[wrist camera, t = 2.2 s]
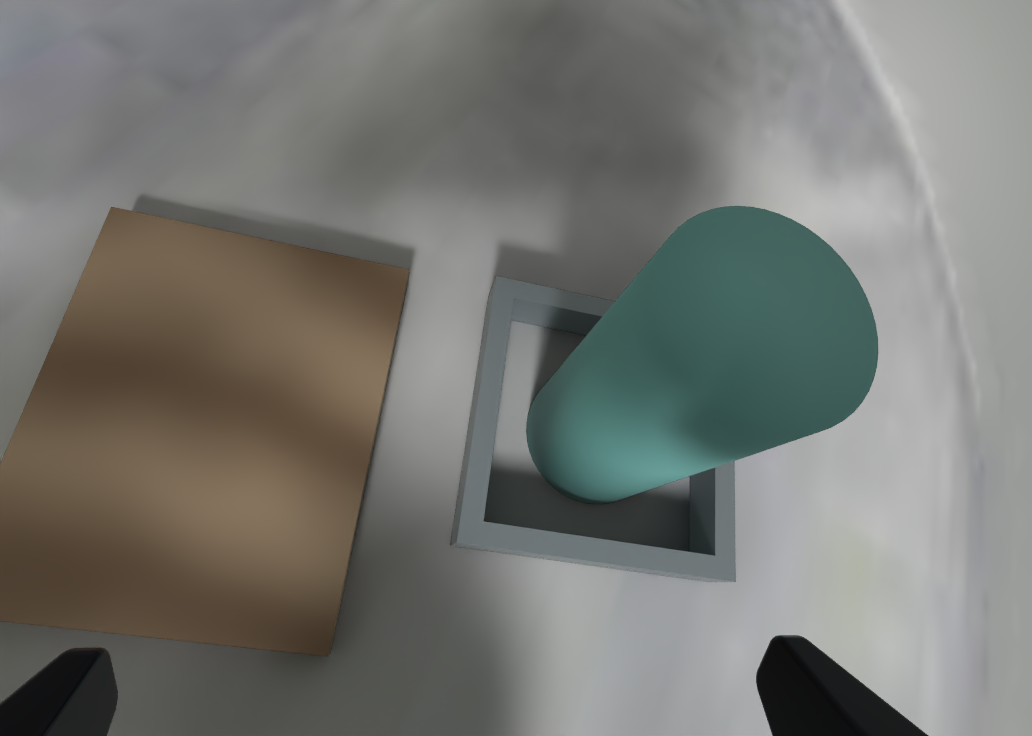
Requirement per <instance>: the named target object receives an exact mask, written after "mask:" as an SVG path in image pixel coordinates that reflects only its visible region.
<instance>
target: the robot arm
mask: <svg viewBox="0 0 1032 736" xmlns="http://www.w3.org/2000/svg"><path fill="white" fill-rule="evenodd" d="M756 683H757V689H758V692H759V695H760V698H761V702H762V705H763V708H764V711H765V714H766V717H767V720H768V723H769V726H770V729H771V732H772V735H773V736H928V735H927V734H925V733H924V732H923V731H922V730H920V729H919V728H918V727H917V726H915V725H914V724H913V723H912V722H910V721H909V720H908V719H907V718H905V717H904V716H903V715H902V714H900V713H899V712H898V711H897V710H895V709H894V708H893V707H891V706H890V705H889V704H888V703H886V702H885V701H884V700H883V699H881V698H880V697H879V696H878V695H876V694H875V693H874V692H873V691H871V690H870V689H869V688H868V687H866V686H865V685H864V684H863V683H861V682H860V681H859V680H858V679H856V678H855V677H854V676H852V675H851V674H850V673H849V672H847V671H846V670H845V669H844V668H842V667H841V666H840V665H839V664H837V663H836V662H835V661H834V660H832V659H831V658H830V657H829V656H827V655H826V654H825V653H824V652H822V651H821V650H820V649H818V648H817V647H816V646H815V645H813V644H812V643H811V642H810V641H808V640H807V639H805V638H804V637H802V636H798V635H780V636H775V637H774V638H773V639H772V640H771V641H770V643H769V646H768V648H767V650H766V652H765V654H764V657H763V659H762V661H761V663H760V666H759V668H758V670H757V675H756ZM117 699H118V691H117V685H116V681H115V676H114V672H113V667H112V663H111V658H110V655H109V652H108V651H107V650H106V649H104V648H73V649H69V650H67V651H65V652H63V653H62V654H60V655H59V656H58V657H57V658H55V659H54V660H53V661H52V662H50V663H49V664H48V665H47V666H46V667H44V668H43V669H42V670H41V671H40V672H38V673H37V674H36V675H35V676H33V677H32V678H31V679H30V680H29V681H27V682H26V683H25V684H24V685H22V686H21V687H20V688H19V689H18V690H16V691H15V692H14V693H13V694H11V695H10V696H9V697H8V698H7V699H5V700H4V701H3V702H2V703H0V736H107V733H108V730H109V728H110V725H111V722H112V719H113V716H114V713H115V710H116V705H117Z"/></svg>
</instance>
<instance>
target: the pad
mask: <svg viewBox="0 0 1032 736" xmlns="http://www.w3.org/2000/svg"><path fill="white" fill-rule="evenodd" d="M408 276H409V270H408V269H404V268H399V267H394V266H389V265H385V264H380V263H375V262H371V261H366V260H361V259H356V258H352V257H347V256H342V255H337V254H333V253H328V252H323V251H318V250H314V249H309V248H304V247H299V246H295V245H290V244H285V243H280V242H276V241H271V240H266V239H262V238H257V237H252V236H247V235H243V234H238V233H233V232H228V231H224V230H219V229H214V228H209V227H205V226H200V225H195V224H190V223H186V222H181V221H176V220H171V219H167V218H162V217H157V216H153V215H148V214H143V213H138V212H134V211H129V210H124V209H119V208H115V207H111V209H110V211H109V213H108V216H107V218H106V220H105V222H104V225H103V227H102V229H101V232H100V234H99V236H98V239H97V241H96V243H95V246H94V248H93V250H92V253H91V255H90V257H89V260H88V262H87V264H86V266H85V269H84V271H83V273H82V276H81V278H80V280H79V283H78V285H77V287H76V290H75V292H74V294H73V297H72V299H71V301H70V304H69V306H68V308H67V310H66V313H65V315H64V317H63V320H62V322H61V324H60V327H59V329H58V331H57V334H56V336H55V338H54V341H53V343H52V345H51V348H50V350H49V352H48V354H47V357H46V359H45V361H44V364H43V366H42V368H41V371H40V373H39V375H38V378H37V380H36V382H35V385H34V387H33V389H32V392H31V394H30V396H29V398H28V401H27V403H26V405H25V408H24V410H23V412H22V415H21V417H20V419H19V422H18V424H17V426H16V429H15V431H14V433H13V436H12V438H11V440H10V442H9V445H8V447H7V449H6V452H5V454H4V456H3V459H2V461H1V463H0V621H3V622H12V623H21V624H30V625H40V626H49V627H58V628H67V629H77V630H86V631H95V632H105V633H114V634H123V635H132V636H142V637H151V638H160V639H169V640H179V641H188V642H197V643H207V644H216V645H225V646H234V647H244V648H253V649H262V650H272V651H281V652H290V653H299V654H309V655H318V656H327V657H328V656H329V654H330V653H331V648H332V644H333V639H334V634H335V629H336V624H337V620H338V615H339V610H340V605H341V601H342V596H343V591H344V586H345V581H346V577H347V572H348V567H349V562H350V558H351V553H352V548H353V543H354V538H355V534H356V529H357V524H358V519H359V514H360V510H361V505H362V500H363V495H364V491H365V486H366V481H367V476H368V471H369V467H370V462H371V457H372V452H373V447H374V443H375V438H376V433H377V428H378V424H379V419H380V414H381V409H382V404H383V400H384V395H385V390H386V385H387V380H388V376H389V371H390V366H391V361H392V357H393V352H394V347H395V342H396V337H397V333H398V328H399V323H400V318H401V314H402V309H403V304H404V299H405V294H406V290H407V285H408Z"/></svg>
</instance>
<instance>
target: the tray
mask: <svg viewBox="0 0 1032 736" xmlns="http://www.w3.org/2000/svg"><path fill="white" fill-rule="evenodd" d="M614 302H615V301H611V300H607V299H602V298H597V297H593V296H588V295H583V294H579V293H574V292H569V291H565V290H560V289H555V288H551V287H546V286H541V285H537V284H532V283H527V282H523V281H518V280H513V279H509V278H504V277H499V276H496V279H495V281H494V284H493V287H492V289H491V292H490V294H489V297H488V302H487V308H486V315H485V321H484V328H483V334H482V341H481V347H480V354H479V361H478V367H477V374H476V380H475V387H474V393H473V400H472V406H471V413H470V419H469V426H468V432H467V439H466V445H465V452H464V458H463V465H462V471H461V478H460V485H459V491H458V498H457V504H456V511H455V517H454V524H453V530H452V537H451V543H450V546H456V547H463V548H471V549H478V550H485V551H492V552H499V553H506V554H513V555H520V556H527V557H535V558H542V559H549V560H556V561H563V562H570V563H577V564H584V565H592V566H599V567H606V568H613V569H620V570H627V571H634V572H641V573H648V574H656V575H663V576H670V577H677V578H684V579H691V580H698V581H705V582H736V568H735V472H734V461H732V462H729V463H726V464H723V465H720V466H718V467H715V468H712V469H709V470H706V471H703V472H700V473H697V474H694V475H691V476H690V531H689V552H687V551H680V550H673V549H666V548H660V547H653V546H646V545H639V544H633V543H626V542H619V541H612V540H606V539H599V538H592V537H585V536H579V535H572V534H565V533H558V532H552V531H545V530H538V529H531V528H525V527H518V526H511V525H504V524H498V523H491V522H484V514H485V507H486V499H487V492H488V485H489V477H490V470H491V463H492V455H493V448H494V441H495V433H496V426H497V418H498V411H499V404H500V396H501V389H502V382H503V374H504V367H505V360H506V352H507V345H508V338H509V330H510V323H511V320H514V321H518V322H523V323H528V324H533V325H538V326H543V327H548V328H553V329H558V330H563V331H568V332H573V333H577V334H582V335H587V334H588V333H589V332H590V331H591V330H592V328H593V327H594V326H595V325H596V324H597V322H598V321H599V320H600V319H601V318H602V317H603V315H604V314H605V313H606V312H607V311H608V309H609V308H610V307H611V306H612V305H613V304H614Z"/></svg>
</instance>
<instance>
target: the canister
mask: <svg viewBox="0 0 1032 736" xmlns="http://www.w3.org/2000/svg"><path fill="white" fill-rule="evenodd" d="M877 360H878V336H877V330H876V324H875V320H874V317H873V313H872V310H871V307H870V304H869V302H868V299H867V297H866V295H865V293H864V291H863V289H862V287H861V285H860V283H859V281H858V280H857V278H856V277H855V275H854V274H853V272H852V271H851V269H850V268H849V267H848V265H847V264H846V263H845V262H844V260H843V259H842V258H841V257H840V256H839V255H838V254H837V253H836V252H835V251H834V250H833V248H832V247H831V246H830V245H828V244H827V243H826V242H825V241H824V240H822V239H821V238H820V237H819V236H818V235H816V234H815V233H813V232H812V231H811V230H809V229H808V228H806V227H805V226H803V225H801V224H799V223H797V222H796V221H794V220H792V219H790V218H787V217H785V216H783V215H780V214H778V213H775V212H771V211H768V210H765V209H760V208H754V207H745V206H729V207H721V208H716V209H711V210H708V211H705V212H703V213H700V214H698V215H696V216H694V217H692V218H691V219H689V220H687V221H686V222H685V223H684V224H682V225H681V226H680V227H678V228H677V230H676V231H675V232H674V233H673V234H672V235H671V236H670V237H669V238H668V240H667V241H666V242H665V243H664V244H663V245H662V247H661V248H660V249H659V250H658V251H657V253H656V254H655V255H654V256H653V257H652V258H651V260H650V261H649V262H648V263H647V264H646V266H645V267H644V268H643V269H642V270H641V272H640V273H639V274H638V275H637V276H636V277H635V279H634V280H633V281H632V282H631V283H630V285H629V286H628V287H627V288H626V289H625V290H624V292H623V293H622V294H621V295H620V296H619V298H618V299H617V300H616V301H615V302H614V304H613V305H612V306H611V307H610V308H609V309H608V311H607V312H606V313H605V314H604V315H603V317H602V318H601V319H600V320H599V321H598V322H597V324H596V325H595V326H594V327H593V328H592V330H591V331H590V332H589V333H588V334H587V336H586V337H585V338H584V339H583V340H582V341H581V343H580V344H579V345H578V346H577V347H576V349H575V350H574V351H573V352H572V353H571V354H570V356H569V357H568V358H567V359H566V360H565V362H564V363H563V364H562V365H561V366H560V368H559V369H558V370H557V371H556V372H555V373H554V375H553V376H552V377H551V378H550V379H549V381H548V382H547V383H546V384H545V385H544V387H543V388H542V389H541V390H540V391H539V393H538V394H537V396H536V397H535V399H534V401H533V403H532V405H531V407H530V410H529V413H528V419H527V428H526V433H527V442H528V447H529V451H530V454H531V457H532V459H533V461H534V463H535V465H536V467H537V469H538V470H539V472H540V473H541V475H542V476H543V477H544V478H545V479H546V481H547V482H548V483H549V484H551V485H552V486H553V487H554V488H555V489H556V490H558V491H559V492H561V493H562V494H564V495H566V496H568V497H570V498H572V499H575V500H577V501H581V502H585V503H592V504H605V503H610V502H615V501H618V500H621V499H624V498H627V497H630V496H632V495H635V494H638V493H641V492H644V491H647V490H650V489H653V488H656V487H659V486H662V485H665V484H668V483H671V482H674V481H676V480H679V479H682V478H685V477H688V476H691V475H694V474H697V473H700V472H703V471H706V470H709V469H712V468H715V467H718V466H720V465H723V464H726V463H729V462H732V461H735V460H738V459H741V458H744V457H747V456H750V455H753V454H756V453H759V452H762V451H764V450H767V449H770V448H773V447H776V446H779V445H782V444H785V443H788V442H791V441H794V440H797V439H800V438H803V437H806V436H808V435H811V434H814V433H817V432H820V431H823V430H826V429H828V428H831V427H833V426H835V425H837V424H838V423H840V422H842V421H843V420H845V419H846V418H847V417H848V416H850V415H851V414H852V413H853V412H854V411H855V410H856V409H857V408H858V407H859V405H860V404H861V403H862V402H863V400H864V398H865V397H866V395H867V393H868V392H869V390H870V387H871V385H872V382H873V380H874V376H875V372H876V368H877Z"/></svg>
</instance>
